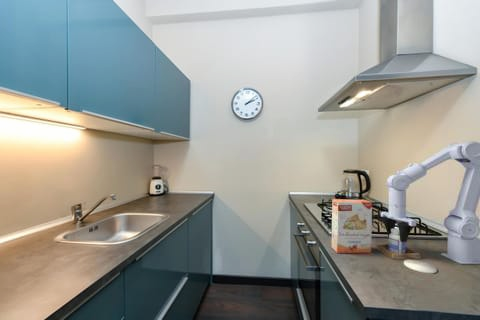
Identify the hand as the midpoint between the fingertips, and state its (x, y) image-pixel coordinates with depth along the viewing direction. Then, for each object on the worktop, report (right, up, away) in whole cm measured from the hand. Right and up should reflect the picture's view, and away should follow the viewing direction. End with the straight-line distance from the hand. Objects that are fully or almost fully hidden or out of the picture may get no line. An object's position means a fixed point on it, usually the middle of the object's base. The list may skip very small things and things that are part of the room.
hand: (396, 238), depth 89 cm
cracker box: (-17, -6, +2) cm, 18 cm away
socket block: (0, -6, 0) cm, 6 cm away
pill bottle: (0, -6, 0) cm, 6 cm away
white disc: (0, -6, -11) cm, 13 cm away
